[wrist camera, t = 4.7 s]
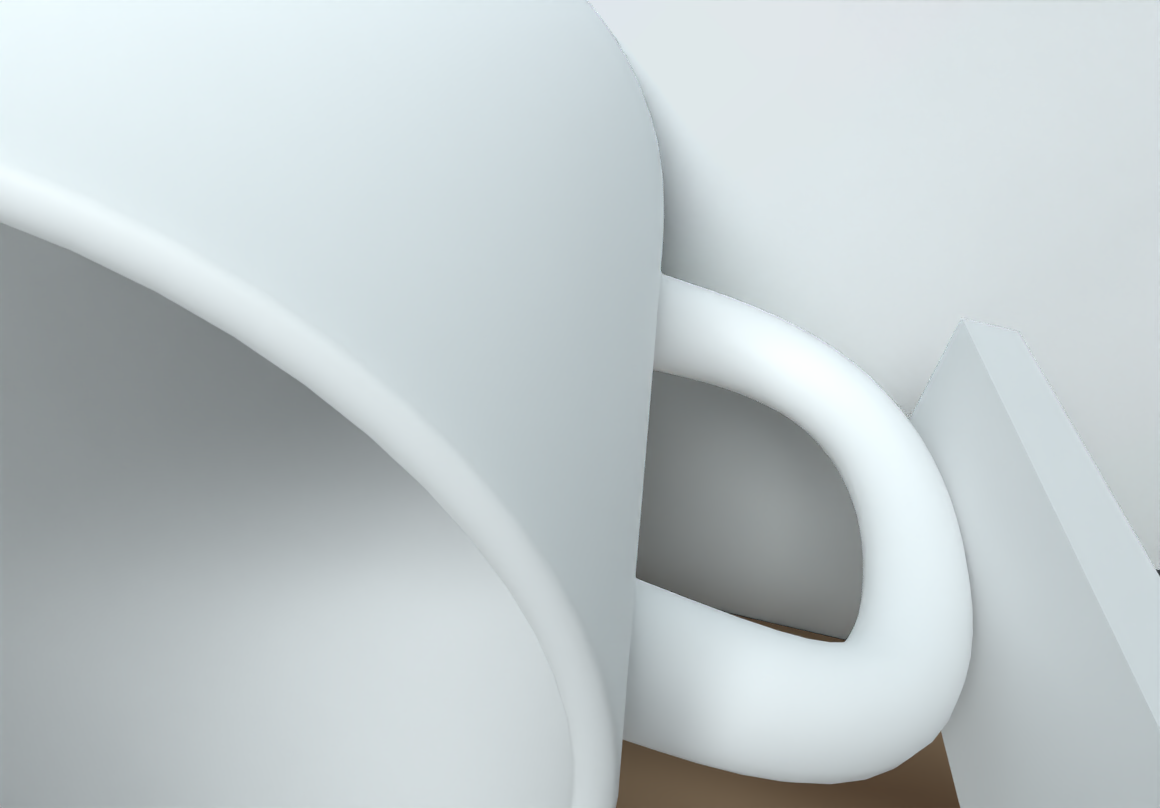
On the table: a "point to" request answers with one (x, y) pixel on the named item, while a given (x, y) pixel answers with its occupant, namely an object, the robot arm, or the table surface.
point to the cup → (392, 428)
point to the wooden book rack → (750, 804)
